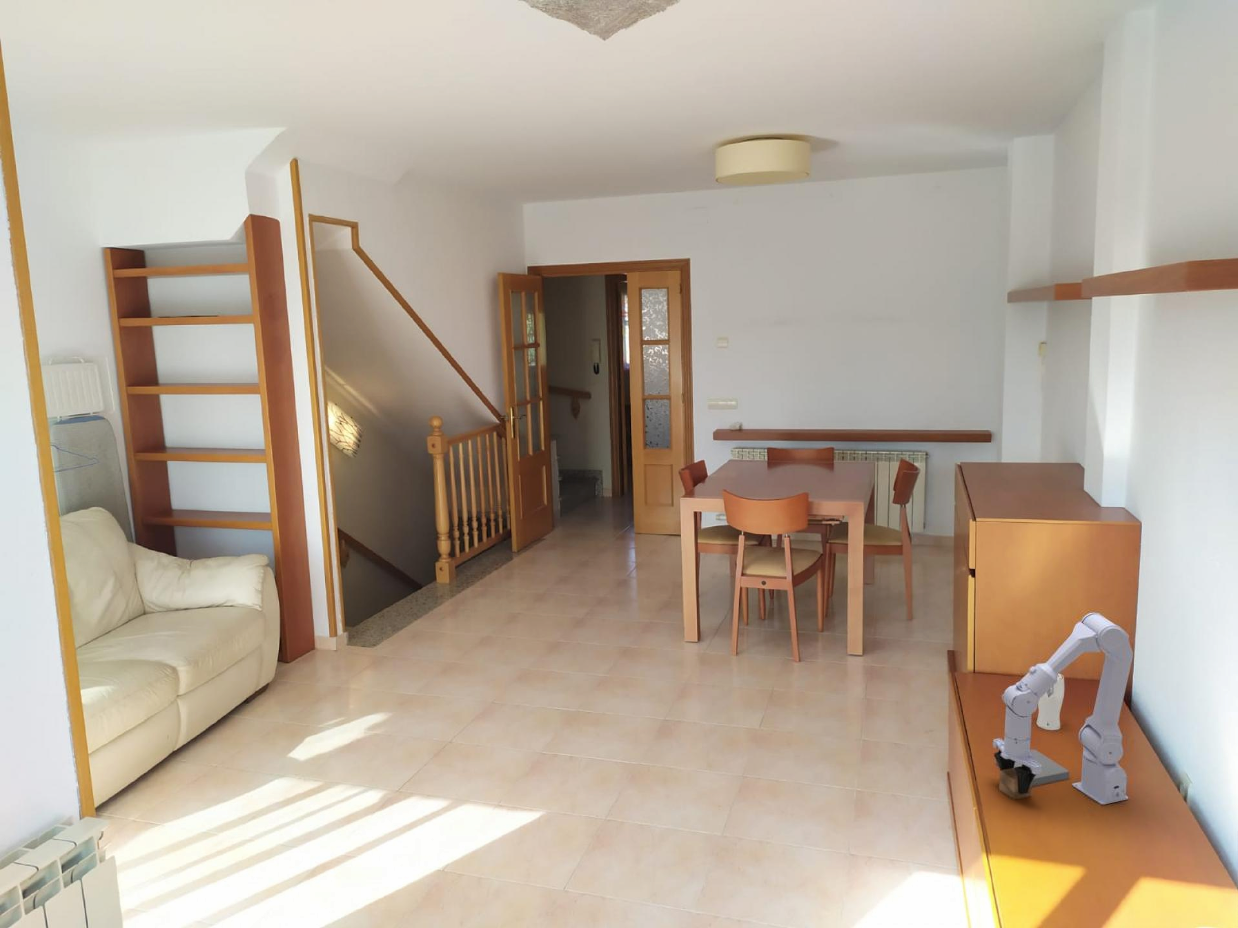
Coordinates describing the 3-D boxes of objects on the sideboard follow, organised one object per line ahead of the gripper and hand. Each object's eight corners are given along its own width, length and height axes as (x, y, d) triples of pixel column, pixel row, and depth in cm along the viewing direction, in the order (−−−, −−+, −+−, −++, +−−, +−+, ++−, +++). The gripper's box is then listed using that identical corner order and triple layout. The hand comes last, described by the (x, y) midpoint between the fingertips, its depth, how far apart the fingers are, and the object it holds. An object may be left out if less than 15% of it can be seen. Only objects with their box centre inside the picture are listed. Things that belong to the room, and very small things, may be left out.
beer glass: (1059, 733, 246) (1062, 682, 244) (1032, 726, 250) (1034, 676, 248) (1064, 723, 252) (1067, 673, 249) (1037, 717, 256) (1040, 668, 253)
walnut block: (1030, 795, 216) (1031, 776, 215) (1013, 799, 214) (1014, 780, 213) (1016, 785, 220) (1017, 766, 220) (999, 789, 219) (1000, 770, 218)
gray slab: (1068, 780, 223) (1069, 771, 223) (1029, 788, 220) (1029, 779, 219) (1034, 758, 234) (1034, 749, 234) (995, 765, 231) (996, 756, 231)
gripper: (983, 724, 221) (981, 775, 223) (1025, 751, 207) (1022, 805, 209) (1007, 720, 223) (1005, 770, 225) (1050, 746, 209) (1047, 799, 211)
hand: (1015, 786), depth 217 cm, fingers closed on walnut block, 5 cm apart
